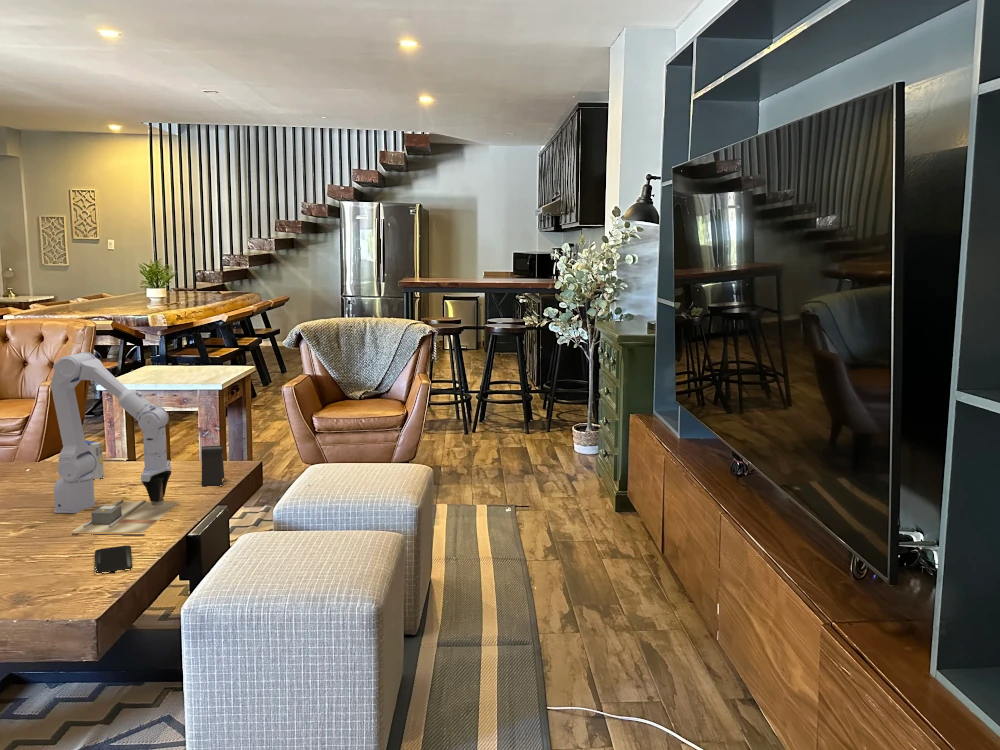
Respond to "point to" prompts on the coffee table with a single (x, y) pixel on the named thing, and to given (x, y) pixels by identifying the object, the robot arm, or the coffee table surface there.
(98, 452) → the walkman
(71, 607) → the coffee table surface
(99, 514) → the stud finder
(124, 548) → the phone
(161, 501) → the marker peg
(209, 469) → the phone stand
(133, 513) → the cream ridged tray
